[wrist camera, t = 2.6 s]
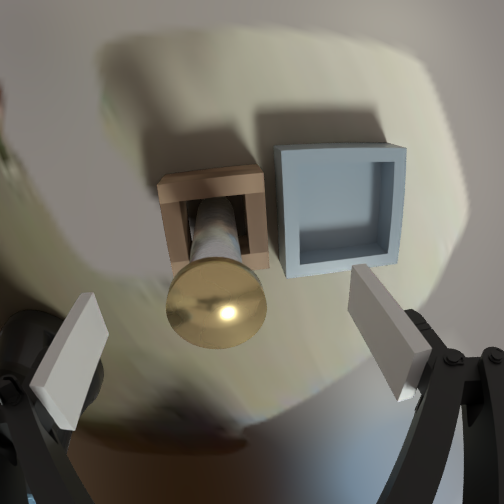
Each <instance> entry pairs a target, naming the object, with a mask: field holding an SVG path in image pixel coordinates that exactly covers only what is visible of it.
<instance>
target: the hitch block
mask: <svg viewBox="0 0 504 504" xmlns="http://www.w3.org/2000/svg"><path fill="white" fill-rule="evenodd" d="M157 190H158V196H159V202H160V208H161V213H162V219H163V225H164V230H165V236H166V241H167V246H168V251H169V256H170V261H171V265H172V271H173V276H174V277H175V276H176V274H177V273H178V272H179V271H180V270H181V269H182V268H183V267H185V266H186V265H188V264H189V261H190V254H191V248H192V242H193V241H192V239H191V233H190V226H189V220H188V213H187V206H186V201H187V200H196V199H204V198H212V197H221V196H231V195H240V194H242V197H243V208H244V220H245V231H246V235H245V236H238V240H239V246H240V252H241V258H242V263H243V264H244V265H246V266H247V267H249V268H250V269H251V270H258V269H267V268H269V251H268V234H267V218H266V202H265V187H264V173H263V171H262V170H261V169H260V167H259V166H258V164H251V165H241V166H231V167H221V168H212V169H204V170H195V171H187V172H180V173H173V174H166V175H164V176H163V178H162V179H161V180H160V182H159V183H158V184H157Z"/></svg>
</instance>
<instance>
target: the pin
mask: <svg viewBox="0 0 504 504" xmlns="http://www.w3.org/2000/svg"><path fill="white" fill-rule="evenodd" d="M266 312H267V304H266V299H265V295H264V291H263V287H262V284H261V282H260V280H259V278H258V277H257V275H256V274H255V273H254V272H253V271H252V270H251V269H250V268H249V267H247V266H246V265H244V264H243V263H242V258H241V252H240V246H239V240H238V235H237V229H236V222H235V216H234V210H233V206H232V204H231V203H230V201H229V200H228V199H226V198H225V197H223V196H221V197H212V198H205V199H204V200H203V201H202V202H201V203H200V205H199V207H198V212H197V218H196V224H195V230H194V236H193V242H192V248H191V254H190V261H189V264H188V265H186V266H185V267H183V268H182V269H181V270H180V271H179V272H178V273H177V274H176V276H175V277H174V278H173V280H172V282H171V285H170V288H169V292H168V297H167V302H166V313H167V318H168V320H169V323H170V325H171V326H172V328H173V329H174V331H175V332H176V333H177V334H178V335H179V336H180V337H182V338H183V339H184V340H186V341H187V342H189V343H191V344H194V345H196V346H199V347H203V348H209V349H224V348H230V347H234V346H237V345H239V344H242V343H244V342H245V341H247V340H249V339H250V338H251V337H252V336H254V335H255V334H256V333H257V332H258V330H259V329H260V328H261V326H262V324H263V322H264V320H265V317H266Z"/></svg>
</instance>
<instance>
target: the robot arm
mask: <svg viewBox="0 0 504 504" xmlns="http://www.w3.org/2000/svg"><path fill="white" fill-rule="evenodd" d="M348 311H349V313H350V315H351V317H352V318H353V320H354V322H355V324H356V326H357V327H358V329H359V331H360V333H361V335H362V336H363V338H364V340H365V342H366V344H367V345H368V347H369V349H370V351H371V353H372V355H373V356H374V358H375V360H376V362H377V364H378V366H379V368H380V369H381V371H382V373H383V375H384V377H385V379H386V381H387V383H388V385H389V386H390V388H391V390H392V392H393V394H394V396H395V398H396V400H397V402H399V401H403V400H406V399H409V398H412V397H414V395H415V392H416V390H417V388H418V389H419V391H420V393H421V394H422V395H421V397H420V399H419V401H418V404H417V406H416V408H415V410H416V411H415V414H414V417H413V420H412V423H411V425H410V428H409V431H408V433H407V436H406V439H405V441H404V444H403V446H402V449H401V451H400V454H399V456H398V458H397V461H396V463H395V465H394V468H393V470H392V472H391V474H390V476H389V479H388V481H387V483H386V485H385V487H384V489H383V491H382V493H381V495H380V497H379V499H378V501H377V503H376V504H432V503H433V500H434V498H435V495H436V492H437V489H438V486H439V484H440V481H441V478H442V475H443V472H444V468H445V465H446V462H447V458H448V454H449V451H450V447H451V444H452V440H453V436H454V431H455V427H456V423H457V418H458V414H459V409H460V405H461V406H462V420H463V437H464V438H463V440H464V484H463V503H462V504H504V351H503V350H501V349H499V348H496V347H488V348H486V349H484V351H483V353H482V355H481V357H469V358H468V357H465V356H464V354H462V353H461V352H460V351H458V350H455V349H449V348H447V347H446V346H445V344H444V343H443V342H442V340H441V339H440V338H439V337H438V335H437V334H436V333H435V332H434V330H433V329H431V327H430V325H429V324H428V323H427V322H426V320H425V319H424V318H423V317H422V315H421V314H419V313H418V312H416V311H414V310H413V309H409V310H403V309H402V308H401V307H400V305H399V304H398V303H397V301H396V300H395V299H394V298H393V296H392V295H391V294H390V293H389V291H388V290H387V289H386V288H385V286H384V285H383V284H382V283H381V282H380V280H379V279H378V278H377V277H376V275H375V274H374V273H373V272H372V271H371V269H370V268H369V267H368V266H367V265H366V263H365V264H357V265H352V269H351V281H350V292H349V303H348ZM108 336H109V333H108V330H107V328H106V325H105V323H104V320H103V317H102V315H101V312H100V309H99V307H98V304H97V301H96V298H95V295H94V292H89V293H81V294H80V296H79V297H78V299H77V300H76V302H75V304H74V305H73V307H72V309H71V310H70V312H69V314H68V315H67V317H66V319H65V320H64V321H63V320H61V319H59V318H57V317H55V316H52V315H50V314H47V313H44V312H40V311H34V310H25V311H20V312H17V313H15V314H14V315H12V316H11V317H10V318H9V320H8V321H7V322H6V324H5V325H4V326H3V328H2V330H1V331H0V504H95V503H94V502H93V500H92V499H91V497H90V495H89V494H88V492H87V490H86V489H85V487H84V485H83V484H82V482H81V480H80V479H79V477H78V475H77V473H76V471H75V470H74V468H73V466H72V464H71V462H70V460H69V458H68V457H67V455H66V454H67V450H68V446H69V442H70V439H71V435H72V431H75V429H76V426H77V422H78V419H79V417H80V416H81V415H82V413H83V412H84V411H85V410H86V408H87V407H88V405H90V404H91V403H92V402H93V401H94V400H95V399H96V398H97V396H98V394H99V392H100V388H101V385H102V382H103V378H104V371H103V366H102V363H101V360H100V356H101V354H102V351H103V348H104V346H105V343H106V341H107V338H108Z"/></svg>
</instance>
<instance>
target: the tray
mask: <svg viewBox="0 0 504 504" xmlns="http://www.w3.org/2000/svg"><path fill="white" fill-rule="evenodd" d="M273 147H274V164H275V181H276V199H277V219H278V241H279V261H280V264H281V266H282V269H283V271H284V274H285V276H286V279H288V278H295V277H303V276H311V275H319V274H326V273H334V272H341V271H348V270H351V269H352V265H357V264H365V263H366V265H367V266H368V267H369V268H370V267H377V266H383V265H390V264H397V261H398V253H399V245H400V237H401V228H402V218H403V206H404V193H405V176H406V148H404V147H401V146H397V145H394V144H390V143H314V144H293V145H276V146H273Z"/></svg>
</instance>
